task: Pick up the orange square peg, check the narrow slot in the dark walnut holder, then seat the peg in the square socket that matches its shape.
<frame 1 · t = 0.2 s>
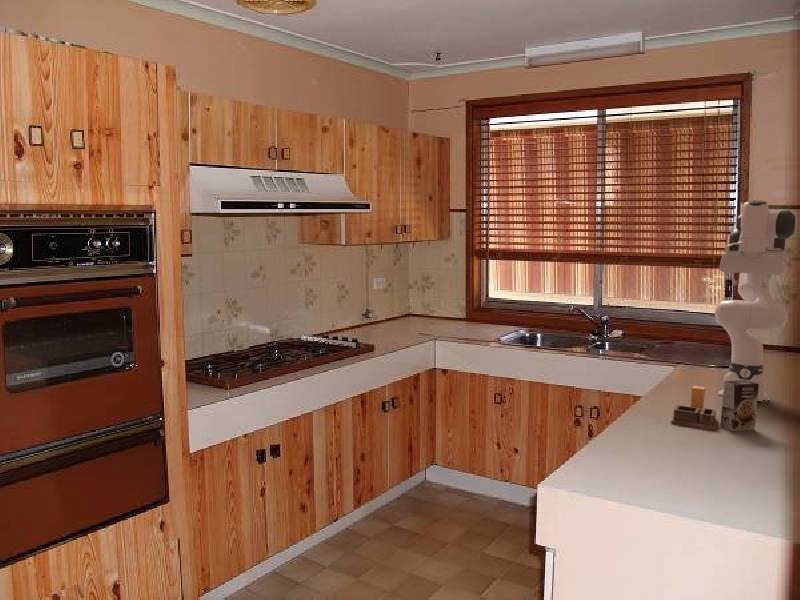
hand: (749, 286, 251), 47 cm above the counter, tool pointing down, fingers open, 8 cm apart
socket holder: (694, 422, 247), on the counter
coffee box: (737, 428, 241), on the counter
square peg: (696, 414, 258), on the counter
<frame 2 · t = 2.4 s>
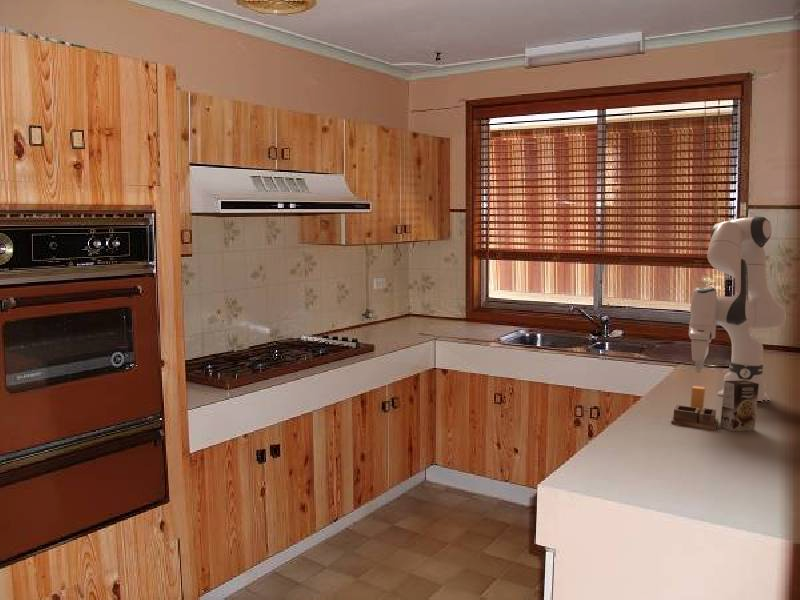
hand: (699, 370, 256), 16 cm above the counter, tool pointing down, fingers open, 8 cm apart
nothing on the counter moved.
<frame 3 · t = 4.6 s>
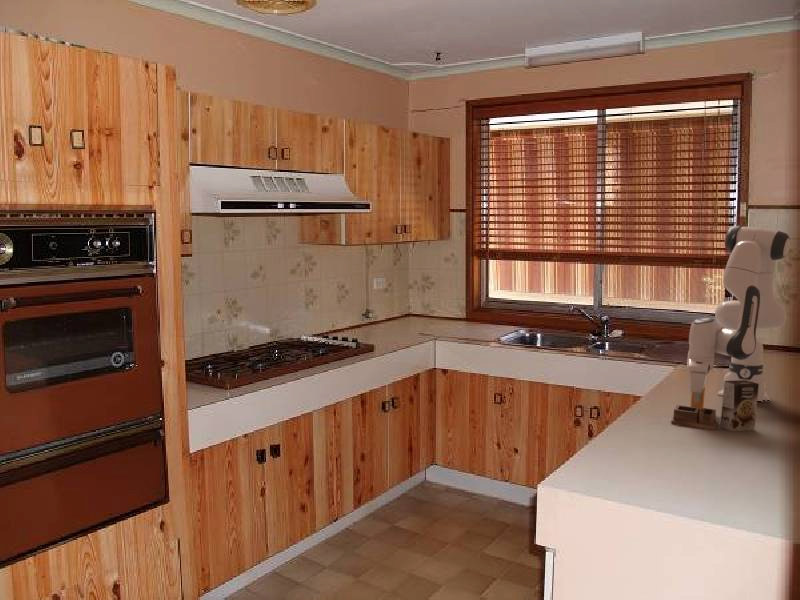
hand: (697, 400, 257), 5 cm above the counter, tool pointing down, fingers closed on square peg, 4 cm apart
square peg: (696, 414, 258), on the counter, touching gripper
everything else where it was.
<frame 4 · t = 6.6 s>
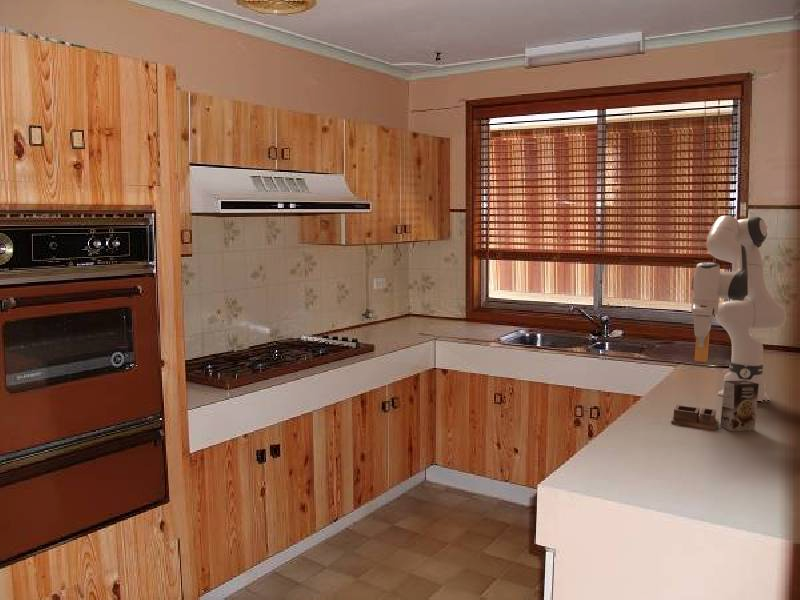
hand: (701, 346, 254), 25 cm above the counter, tool pointing down, fingers closed on square peg, 4 cm apart
square peg: (700, 360, 255), point 20 cm above the counter, touching gripper
everything else where it was.
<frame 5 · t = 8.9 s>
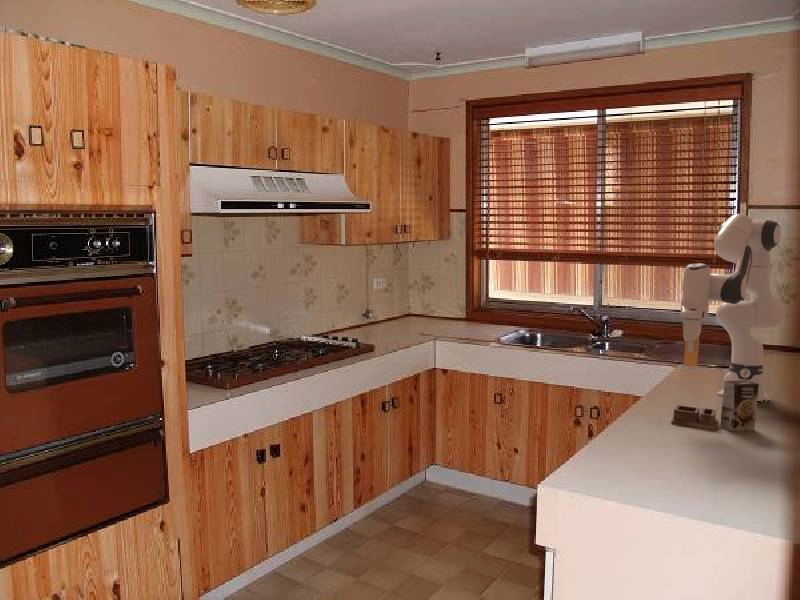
hand: (691, 350, 245), 25 cm above the counter, tool pointing down, fingers closed on square peg, 4 cm apart
square peg: (690, 365, 246), point 20 cm above the counter, touching gripper
everything else where it was.
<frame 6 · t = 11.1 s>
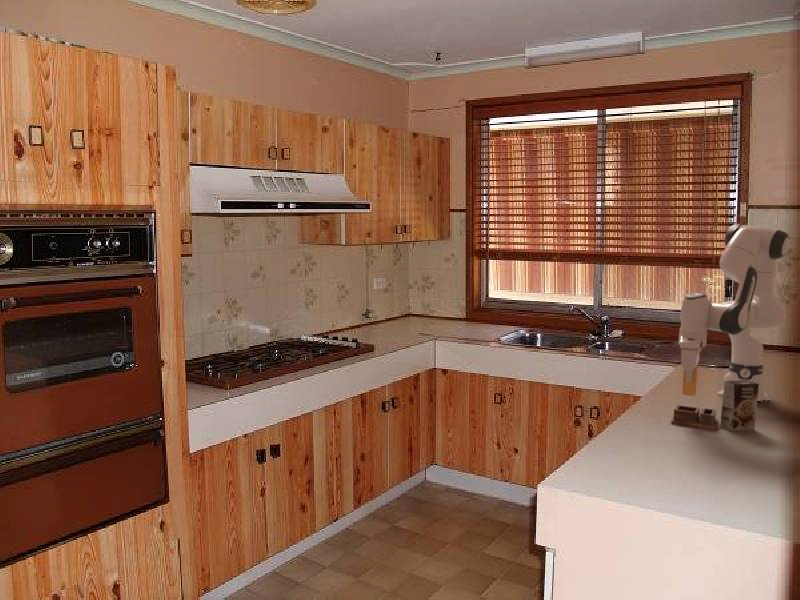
hand: (689, 379, 246), 15 cm above the counter, tool pointing down, fingers closed on square peg, 4 cm apart
square peg: (688, 394, 247), point 10 cm above the counter, touching gripper
everything else where it was.
when the fingers open (8 cm above the counter, at t = 13.3 s): square peg drops 1 cm, resting on socket holder.
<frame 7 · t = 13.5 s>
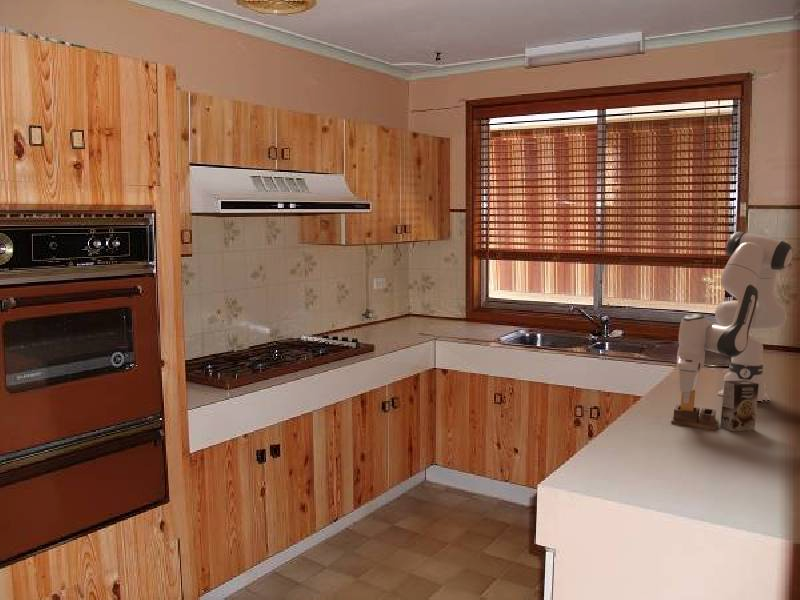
hand: (687, 400, 247), 8 cm above the counter, tool pointing down, fingers open, 6 cm apart
square peg: (686, 418, 248), point 1 cm above the counter, touching socket holder
everything else where it was.
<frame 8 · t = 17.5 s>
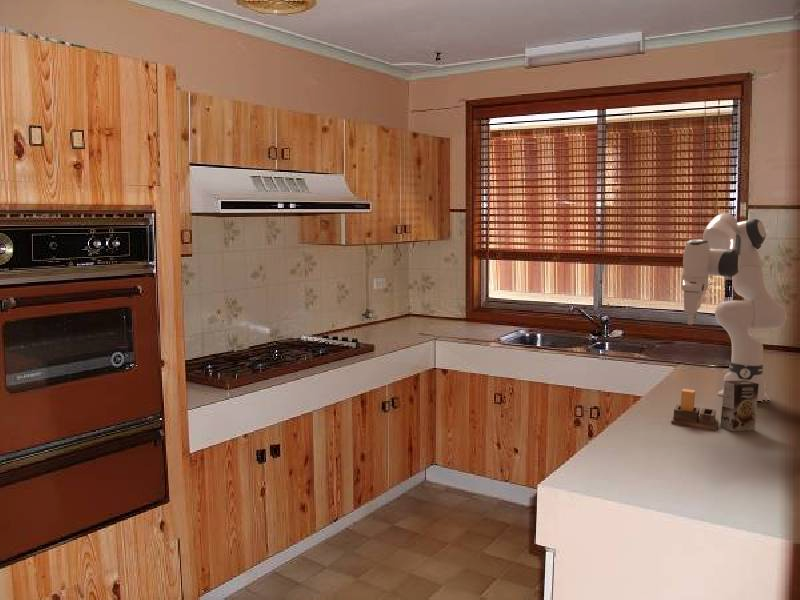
hand: (691, 322, 257), 33 cm above the counter, tool pointing down, fingers open, 8 cm apart
nothing on the counter moved.
at the end: square peg 0.1 cm from the target spot on the socket holder, point 1.0 cm above the socket holder's base; square peg tilted 0°; the gripper is holding nothing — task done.
